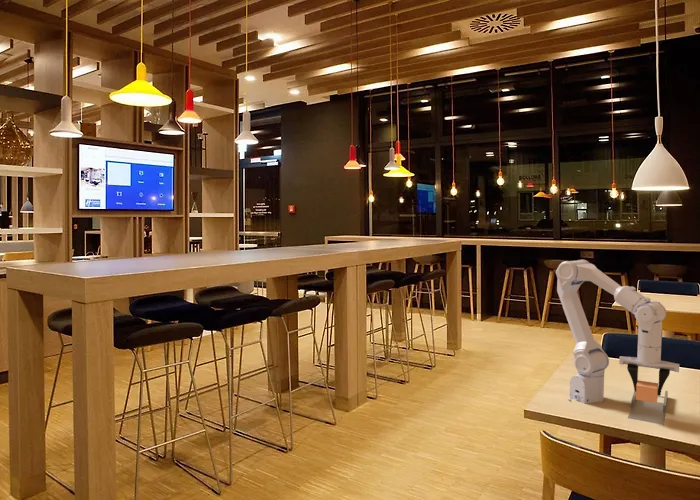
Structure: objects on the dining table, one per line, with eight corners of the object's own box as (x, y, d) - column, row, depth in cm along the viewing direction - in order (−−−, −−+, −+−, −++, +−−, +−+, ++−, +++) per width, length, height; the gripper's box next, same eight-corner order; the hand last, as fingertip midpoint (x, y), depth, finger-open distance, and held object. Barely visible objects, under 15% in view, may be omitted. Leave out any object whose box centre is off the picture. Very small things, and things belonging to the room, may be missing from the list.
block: (656, 403, 141) (657, 388, 141) (635, 399, 144) (636, 385, 143) (657, 397, 145) (658, 383, 145) (637, 394, 148) (637, 380, 148)
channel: (663, 428, 140) (664, 417, 140) (627, 421, 145) (627, 410, 145) (667, 400, 161) (667, 390, 161) (635, 395, 166) (636, 386, 166)
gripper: (680, 345, 145) (678, 393, 146) (621, 338, 153) (620, 384, 154) (679, 351, 139) (677, 400, 140) (619, 344, 147) (617, 390, 148)
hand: (647, 392), depth 147 cm, fingers closed on block, 5 cm apart
